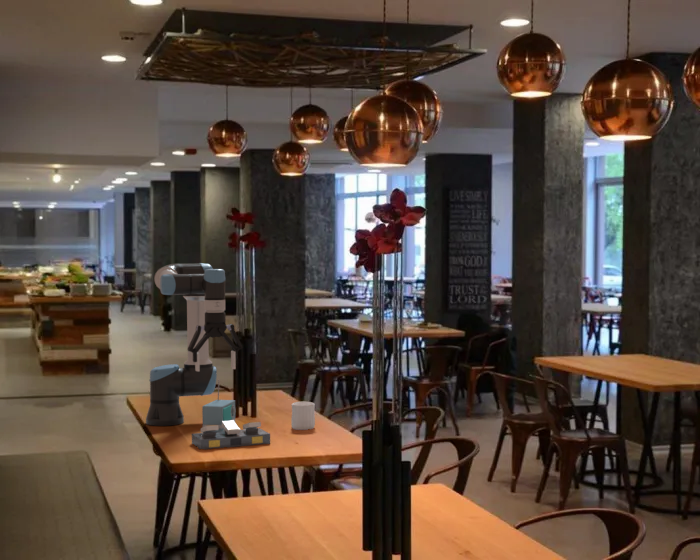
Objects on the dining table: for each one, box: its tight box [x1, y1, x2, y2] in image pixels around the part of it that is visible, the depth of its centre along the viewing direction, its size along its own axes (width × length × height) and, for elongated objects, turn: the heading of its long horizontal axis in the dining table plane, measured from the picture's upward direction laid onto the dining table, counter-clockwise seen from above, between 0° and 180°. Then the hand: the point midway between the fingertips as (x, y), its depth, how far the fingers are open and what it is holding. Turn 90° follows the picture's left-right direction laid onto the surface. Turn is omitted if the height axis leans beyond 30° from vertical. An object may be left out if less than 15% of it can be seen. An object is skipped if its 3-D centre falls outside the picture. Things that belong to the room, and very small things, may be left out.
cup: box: [291, 401, 316, 431], centre depth 397 cm, size 10×10×10 cm
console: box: [191, 427, 271, 450], centre depth 367 cm, size 12×26×5 cm, turn 114°
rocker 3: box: [242, 421, 262, 430], centre depth 370 cm, size 8×4×2 cm, turn 24°
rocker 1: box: [200, 425, 219, 433], centre depth 364 cm, size 8×4×2 cm, turn 24°
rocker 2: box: [222, 420, 241, 434], centre depth 367 cm, size 8×4×2 cm, turn 24°
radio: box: [201, 379, 237, 432], centre depth 386 cm, size 16×9×20 cm, turn 168°
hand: (215, 370), depth 366 cm, fingers open, 13 cm apart
